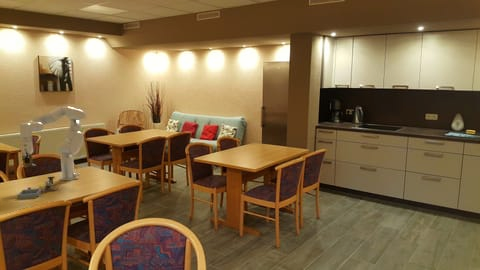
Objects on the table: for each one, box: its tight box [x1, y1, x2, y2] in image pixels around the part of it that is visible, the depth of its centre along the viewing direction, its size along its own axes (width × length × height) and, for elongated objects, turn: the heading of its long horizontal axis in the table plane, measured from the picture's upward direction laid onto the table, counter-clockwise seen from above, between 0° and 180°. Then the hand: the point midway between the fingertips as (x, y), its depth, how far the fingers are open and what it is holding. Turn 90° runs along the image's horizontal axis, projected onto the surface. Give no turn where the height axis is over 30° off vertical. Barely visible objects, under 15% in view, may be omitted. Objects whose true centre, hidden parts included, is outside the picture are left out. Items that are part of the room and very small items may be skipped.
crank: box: [45, 176, 56, 188], centre depth 274 cm, size 13×5×6 cm, turn 16°
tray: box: [17, 188, 43, 200], centre depth 257 cm, size 13×12×3 cm
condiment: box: [21, 153, 37, 168], centre depth 269 cm, size 7×8×12 cm
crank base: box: [27, 186, 59, 193], centre depth 268 cm, size 20×6×3 cm, turn 106°
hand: (28, 161), depth 269 cm, fingers closed on condiment, 6 cm apart
